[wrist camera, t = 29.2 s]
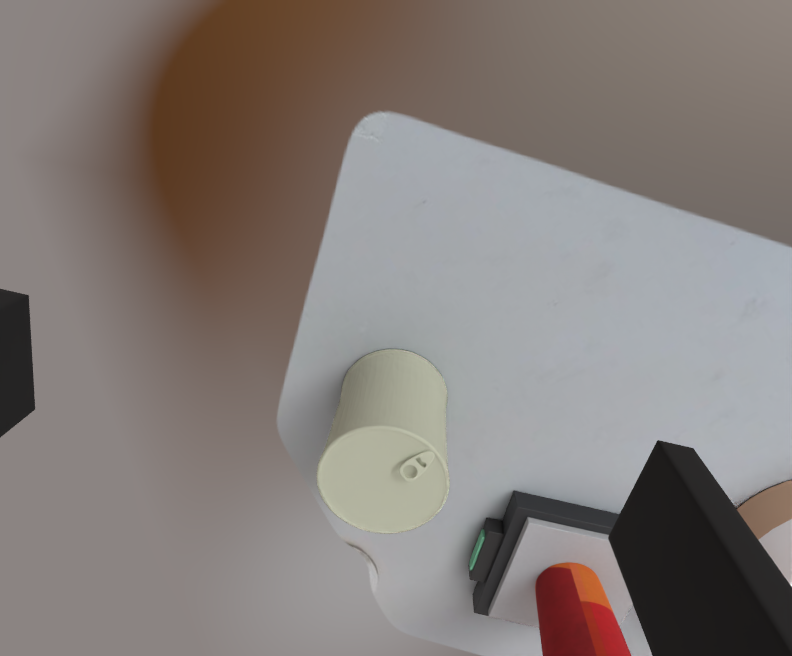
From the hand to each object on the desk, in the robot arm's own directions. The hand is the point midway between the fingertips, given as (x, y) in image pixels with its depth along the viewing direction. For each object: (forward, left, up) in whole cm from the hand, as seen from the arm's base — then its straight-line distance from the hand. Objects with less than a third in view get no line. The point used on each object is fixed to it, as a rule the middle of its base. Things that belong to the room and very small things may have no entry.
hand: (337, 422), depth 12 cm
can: (+3, -18, -32) cm, 37 cm away
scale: (+23, -32, -32) cm, 51 cm away
